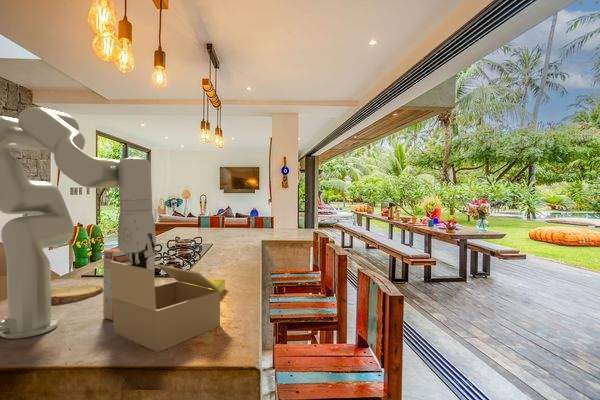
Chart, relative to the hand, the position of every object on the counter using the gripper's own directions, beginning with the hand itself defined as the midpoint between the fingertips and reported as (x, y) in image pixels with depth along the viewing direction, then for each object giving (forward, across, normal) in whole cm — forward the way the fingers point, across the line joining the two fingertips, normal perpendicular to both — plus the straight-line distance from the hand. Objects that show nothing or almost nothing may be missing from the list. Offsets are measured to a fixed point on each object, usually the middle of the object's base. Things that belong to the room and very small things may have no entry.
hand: (139, 278), depth 89 cm
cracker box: (+16, -22, +10) cm, 29 cm away
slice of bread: (+15, -56, +8) cm, 59 cm away
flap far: (+3, -1, +15) cm, 16 cm away
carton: (+16, -1, +9) cm, 19 cm away
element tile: (+17, -20, +37) cm, 45 cm away
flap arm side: (+1, -1, -1) cm, 2 cm away
